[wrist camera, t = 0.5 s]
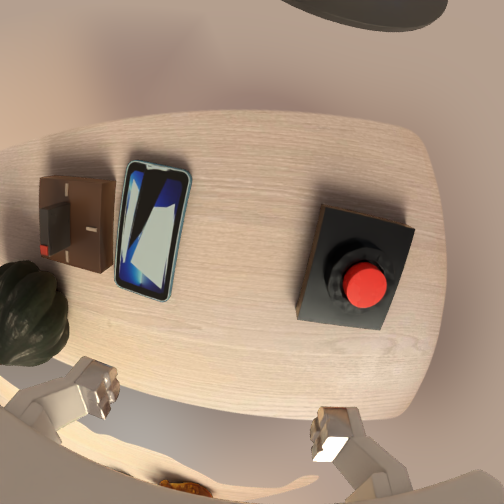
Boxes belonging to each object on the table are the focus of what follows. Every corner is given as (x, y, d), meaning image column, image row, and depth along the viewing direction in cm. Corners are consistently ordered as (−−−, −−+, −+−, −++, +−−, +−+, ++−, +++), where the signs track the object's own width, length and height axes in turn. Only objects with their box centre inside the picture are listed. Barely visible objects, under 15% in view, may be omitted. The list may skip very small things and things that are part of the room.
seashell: (229, 509, 45) (193, 520, 46) (227, 486, 52) (192, 500, 53) (170, 493, 40) (138, 504, 41) (171, 467, 47) (140, 482, 49)
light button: (348, 258, 25) (353, 264, 23) (385, 265, 25) (392, 272, 23) (337, 296, 26) (341, 305, 25) (373, 302, 26) (378, 310, 25)
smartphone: (113, 285, 31) (127, 158, 26) (117, 282, 32) (132, 158, 27) (168, 304, 31) (193, 172, 26) (171, 300, 32) (195, 171, 27)
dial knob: (62, 201, 26) (37, 208, 22) (70, 202, 26) (45, 210, 22) (62, 243, 27) (39, 255, 23) (70, 246, 27) (48, 257, 23)
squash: (-13, 235, 25) (-48, 333, 18) (54, 253, 26) (15, 380, 18) (32, 279, 38) (8, 358, 30) (97, 299, 38) (74, 391, 30)
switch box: (321, 203, 27) (329, 210, 23) (406, 224, 27) (423, 233, 23) (295, 309, 31) (298, 329, 27) (374, 320, 31) (385, 339, 27)
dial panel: (54, 175, 28) (38, 177, 25) (116, 180, 28) (101, 183, 25) (55, 249, 31) (40, 257, 28) (113, 264, 31) (99, 274, 28)
